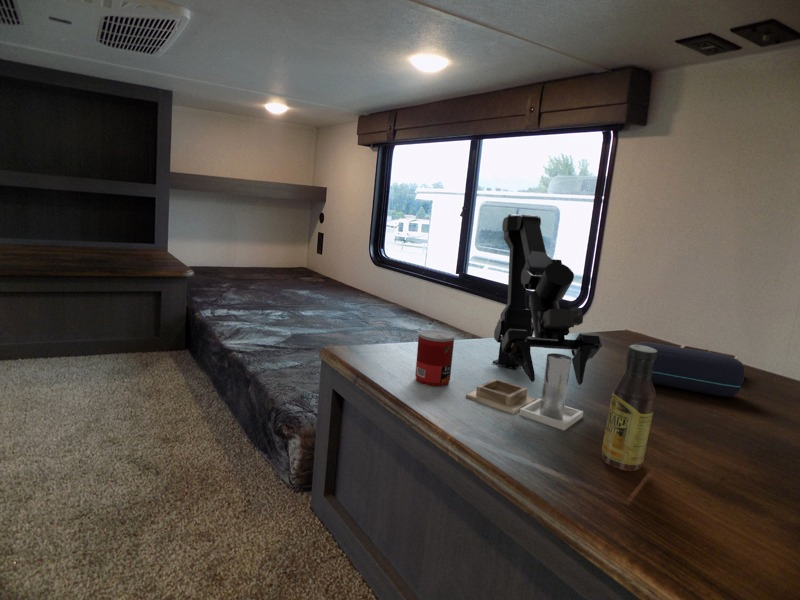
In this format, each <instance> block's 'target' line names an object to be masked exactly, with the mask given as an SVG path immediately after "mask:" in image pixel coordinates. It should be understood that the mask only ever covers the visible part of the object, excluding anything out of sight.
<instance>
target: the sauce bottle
mask: <svg viewBox="0 0 800 600" xmlns="http://www.w3.org/2000/svg"><path fill="white" fill-rule="evenodd" d="M627 354H628V361H627V365H625V369H624V372H623V374H622V375H621V377H620V379H619V380H618V383H617V384H616V385H615V388H614V389H613V390H612V394H611V397H610V398H611V399H610V402H609V403H610V404H609V409H608V415H607V418H606V425H605V431H604V436H603V441H602V442H603V443H602V445H601V450H602V452H601V459H602V460H603V462H605V464H607V465H609V466H611V467H613V468H615V469H618V470H622V471H623V470H624V471H628V472H633V471H638V470H641V469H642V463H643V462H644V460H645V459H644V458H645V453H646V449H647V443H648V439H649V433H650V429H651V426H652V425H651V424H652V419H653V415H654V406H655V401H656V398H657V397H656V396H657V394H656V389H655V386H654V385H653V383H652V381H651V377H652V370H653V365H654V361H655V360H656V358H657V350H655V349H653V348H651V347H648V346H643V345H632V344H630V345H629V346H628V348H627Z"/></svg>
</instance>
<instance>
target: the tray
mask: <svg viewBox="0 0 800 600" xmlns="http://www.w3.org/2000/svg"><path fill="white" fill-rule="evenodd" d="M541 398H542V397H541ZM541 398H536V401H534V402H532V403H530V404H528V405H526V406H525V407H523V408H521V409H520V411H519V412H518V413H519V415H518V416H522V417H524V418H527V419H530V420H533V421H536V422H539V423H541V424H544V425H547V426H551V427H554V428H555V429H559V430H562V431H566V430H567V429H568V428H570V427H571V426H572V425H574V424H575V423H577V422H578V421H579V420H581V419H582V418H583V415H584V411H583V410H580V409H578V408H577V409H576V408H573V407H570V406H567V405H565V407H564V414H563V419H562V420H559V421H558V420H555V419H552V418H549V417H546V416H543V415H540V414H539V413H540V406H541Z"/></svg>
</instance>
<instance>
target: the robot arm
mask: <svg viewBox="0 0 800 600" xmlns="http://www.w3.org/2000/svg"><path fill="white" fill-rule="evenodd" d="M541 224H542V220H541V217H540V216H538V215H536V214H524V213H522V214H514V213H513V214H511V213H509V214H508V215H507V216H506V217H504V218H503V220H502V230H501V231H502V232H503V240H504V242H505V244H506V245H507V247H508V250H509V259H508V260H509V262H508V283H507V303H506V306H505V307H504V308H503V310H502V311H501V313H500V317H499V319H498V321H497V324H496V325H495V328H494V333H493V338H494V340H495V341H496V343H499V349H498V350H499V351H498V357H497V359H494V360H492V363H493V364H494V365H498V366H502V367H505V368H509V369H511V370H516V369H518V368H521V369H522V370H523V371H524V373H525V374H526V376H527V377H528V379H529V381H530V382H532V383H534V382H535V380H536V377H535V376H536V375H535V369H534V363H533V359H532V355H531V348H543V349H555V350H570V351H571V355H572V356H573V357H572V358H571V364H572V366H573V371H574V374H575V375H574V376H575V379H576V382H577V384H578V385H579V386H581V385H582V384H583V382H584V377H585V371H586V364H587V362H588V360H590V359H593V358H594V357H595V355H596V354H597V353H598V351H599V350H600V349H601V348H602V347H603V342H602V338H601V336H600V335H598V334H595V333H582V332H581V333H579V334H578V335H577V337H576V338H575V339H566V338H565V336H569V334H570V328H574V327H575V326H579V325H582V324H583V322H584V321H583V320H584V314H583V311H582V308H581V307H572V308H569V309H566V308H565V309H563V308H560V305H559V301H561V300H563V299H564V297H565V296H566V293H567V292H568V290H569V288H570V286H571V285H572V283H573V281H574V279H575V274H574V272H573V270H572V269H571V268H570V267H568V266H567V265H566V264H564V263H562V259H555V258H554V259H553V258H551V257H550V256H548V254H547V250H546V246H545V242H544V237H543V233H542V229H541ZM527 290H528V291H532V292H531V293H530V295H529V296H528V297H529V298H528V299H529V303H528V306H527V304H526V301H527V299H526V298H527ZM529 308H530V309H529ZM533 335H534V336H533Z"/></svg>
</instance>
